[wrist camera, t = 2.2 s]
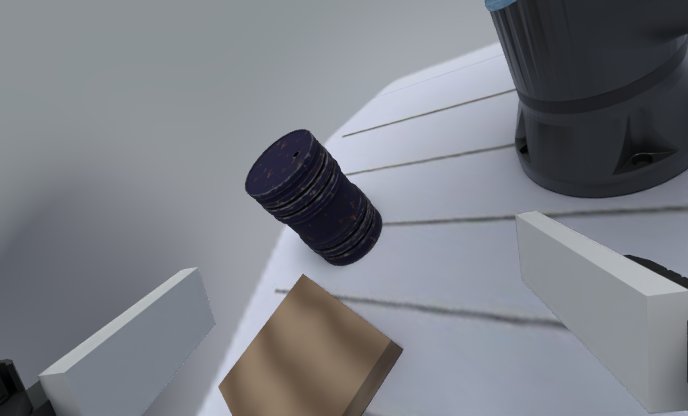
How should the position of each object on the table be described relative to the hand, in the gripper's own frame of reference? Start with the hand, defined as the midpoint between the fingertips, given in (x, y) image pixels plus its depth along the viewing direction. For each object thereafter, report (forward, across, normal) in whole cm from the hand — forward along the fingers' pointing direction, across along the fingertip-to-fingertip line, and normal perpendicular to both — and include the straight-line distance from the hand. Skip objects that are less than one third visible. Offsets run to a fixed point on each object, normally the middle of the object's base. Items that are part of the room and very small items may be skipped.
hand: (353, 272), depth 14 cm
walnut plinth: (+19, -10, -18) cm, 28 cm away
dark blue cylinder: (+32, -4, -8) cm, 33 cm away
